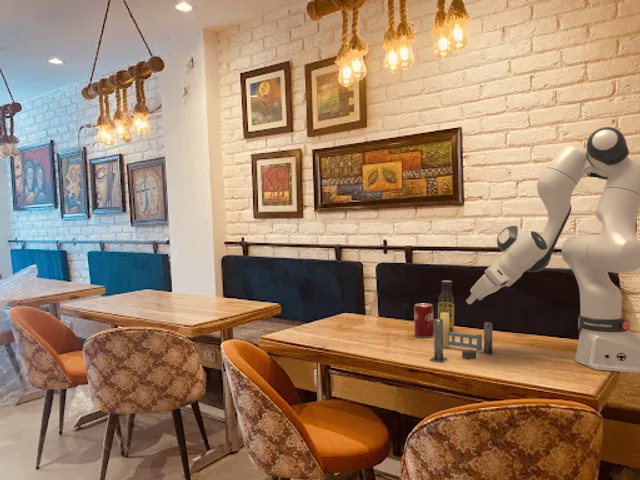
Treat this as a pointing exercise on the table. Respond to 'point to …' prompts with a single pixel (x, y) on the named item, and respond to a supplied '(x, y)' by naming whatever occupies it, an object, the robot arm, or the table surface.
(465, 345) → the gate
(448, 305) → the sauce bottle
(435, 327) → the post
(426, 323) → the soda can
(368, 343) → the table surface
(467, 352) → the block
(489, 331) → the hinge post
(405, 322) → the table surface
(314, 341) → the table surface
